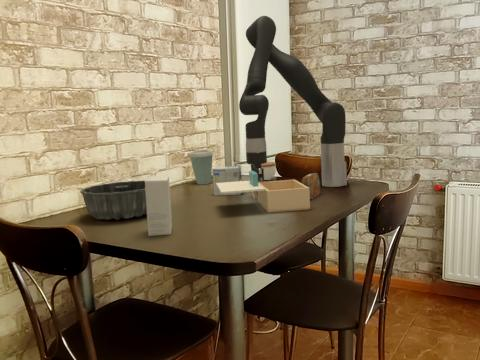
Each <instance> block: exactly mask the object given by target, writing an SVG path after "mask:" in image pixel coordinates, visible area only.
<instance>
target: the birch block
mask: <svg viewBox="0 0 480 360" xmlns="http://www.w3.org/2000/svg"><path fill="white" fill-rule="evenodd" d="M259 182H261V181H259ZM252 197H253V198H254V199H253V198H252ZM251 198H252V199H253V200H258V196H257V191H253V192H251Z"/></svg>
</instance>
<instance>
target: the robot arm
mask: <svg viewBox="0 0 480 360" xmlns="http://www.w3.org/2000/svg"><path fill="white" fill-rule="evenodd" d="M245 31H246V32H245V37H246V40H247V41H248V43H249V45H251V46H252V48H254V52H253V55H252V57H251V61H250V64H249V65H248V70H247V75H246V76H247V79H246V84H245V87H244V90H243V92H242V94H241V97H240V99H239V104H238V106H239V107H238V108H239V111H240V113H241V114H242V115H244V116H257V118H256V119H255V120H253V121H249V122H247V123H246V124H245V155H246V156H245V157H246V164H247V165H250V171H254V172H256V173H257V174H258V182H259V181H261V182H265V181H264V169H263V168H262V167H261V164H264V163H266V162H268V157H267V156H268V155H267V153H268V152H267V151H268V150H267V141H266V131H265V130H266V126H265V125H266V121H267V115H268V111H269V106H270V103H269V98H268V97H267V96H266V95H264V94H261V93H263V92H265V90H266V87H267V85H266V84H267V78H268V75H267V74H268V68H269V63H270V65H271V66H272V67H273V68H274V69H275V70H276V71H277V72H278V74H280V76H281V77H282V78H283V79H284V81H286V83H287V84H288V85H289V86H290V87H291V88H292V90H293V91H294V92H296V94H298V96H299V97H300V98H301V99H302V100H303V101H304V102H305V103H307V105H308V106H309V107H310V109H311V110H312V112H313V113H314V115H315V116H316V118H317V119H318V121H319V122H320V123H321V124H322V132H321V136H320V162H321V163H320V166H321V167H320V168H321V185H322V187H327V188H335V187H337V188H338V187H339V188H340V187H343V186H348V178H347V176H348V174H347V161H346V160H345V137H346V121H347V120H346V111H345V108H344V106H343V105H342V104H340V103H338V102H333V101H331V100H330V99H329V98H328V97H327V96H326V95H325V94H324V93H323V91H322V90H320V88H319V86H318V84H317V82H316V80H315V77H314V76H313V75H312V73H311V72H310V71H309V69H308V68H307V67H306V65H304V63H303V62H302V61H301V60H300V59H299V58H297V57H295V56H293V55H290V54H288V53H286V52H284V51H282V50H280V49H279V48H278V47H276V45H274V40H275V38H276V32H277V26H276V23H275V21H274V19H272V18H271V17H270V16H267V15H262V16H259V17H257V19H255V20H254V21H253V22H252V23H251V24H250V26H248V28H247V29H246V30H245ZM257 196H258V193H257Z"/></svg>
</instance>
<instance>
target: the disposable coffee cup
mask: <svg viewBox="0 0 480 360" xmlns="http://www.w3.org/2000/svg"><path fill="white" fill-rule="evenodd" d="M213 155H214V154H213V152H212V151H211V149H197V150H194V151H190V154H189V155H188V156H189V157H190V163H191V167H192V170H193V174H194V175H193V176H194V178H195V182H196V184H197V185H207V184H211V182H212V175H213V172H212V169H213Z"/></svg>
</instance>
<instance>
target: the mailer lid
mask: <svg viewBox="0 0 480 360" xmlns="http://www.w3.org/2000/svg"><path fill="white" fill-rule="evenodd" d="M248 177H249V178H248V180H242V181H236V182H223V183H216V185H217V187H218V189H219V191H220V192H221V194H227V193H240V192H242V193H250V192H251V193H252V192H253V191H265V189H264V188H263V187H262V186H261V185H260V184H258V174H257V173H256V172H254V171H251V170H249V171H248Z"/></svg>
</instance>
